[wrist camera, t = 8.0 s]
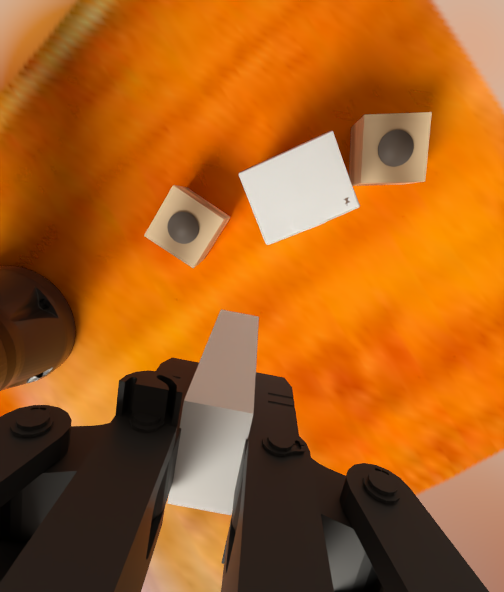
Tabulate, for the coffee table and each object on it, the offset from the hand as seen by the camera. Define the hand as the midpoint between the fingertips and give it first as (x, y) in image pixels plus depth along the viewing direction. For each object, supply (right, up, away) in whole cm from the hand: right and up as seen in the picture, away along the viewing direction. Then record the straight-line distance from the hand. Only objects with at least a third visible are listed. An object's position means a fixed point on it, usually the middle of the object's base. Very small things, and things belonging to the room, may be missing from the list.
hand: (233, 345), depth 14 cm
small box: (+5, +14, +27) cm, 30 cm away
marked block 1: (-6, +10, +28) cm, 31 cm away
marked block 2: (+14, +17, +25) cm, 34 cm away
